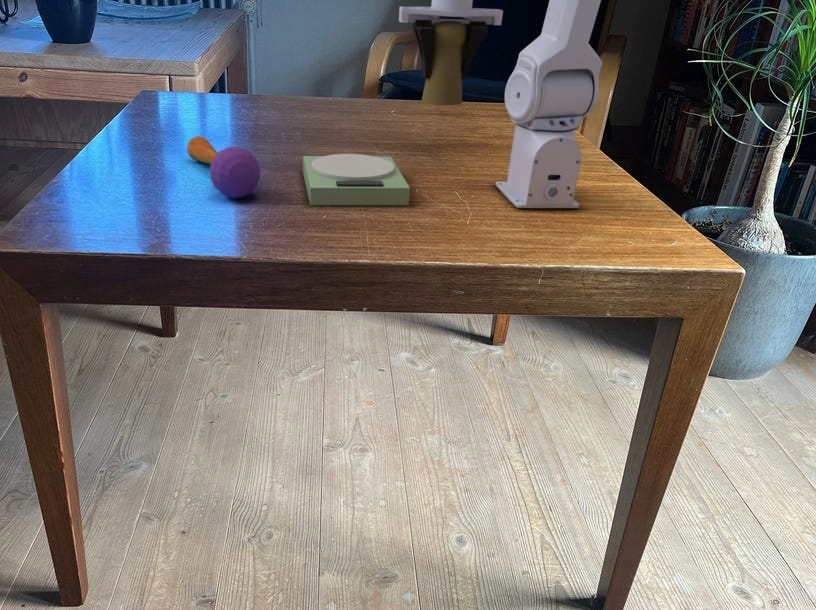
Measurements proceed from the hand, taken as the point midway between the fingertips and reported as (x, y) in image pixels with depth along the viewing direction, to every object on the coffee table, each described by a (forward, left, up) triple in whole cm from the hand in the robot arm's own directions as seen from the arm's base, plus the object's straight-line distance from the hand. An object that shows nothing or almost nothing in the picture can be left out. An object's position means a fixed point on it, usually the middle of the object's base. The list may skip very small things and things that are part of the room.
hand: (444, 77), depth 108 cm
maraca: (-18, +33, -11) cm, 39 cm away
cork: (0, 0, -4) cm, 4 cm away
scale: (-21, +16, -10) cm, 28 cm away
